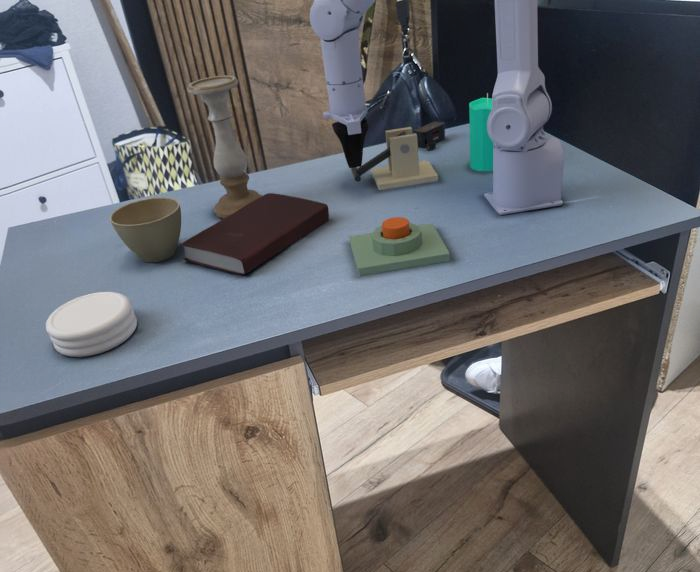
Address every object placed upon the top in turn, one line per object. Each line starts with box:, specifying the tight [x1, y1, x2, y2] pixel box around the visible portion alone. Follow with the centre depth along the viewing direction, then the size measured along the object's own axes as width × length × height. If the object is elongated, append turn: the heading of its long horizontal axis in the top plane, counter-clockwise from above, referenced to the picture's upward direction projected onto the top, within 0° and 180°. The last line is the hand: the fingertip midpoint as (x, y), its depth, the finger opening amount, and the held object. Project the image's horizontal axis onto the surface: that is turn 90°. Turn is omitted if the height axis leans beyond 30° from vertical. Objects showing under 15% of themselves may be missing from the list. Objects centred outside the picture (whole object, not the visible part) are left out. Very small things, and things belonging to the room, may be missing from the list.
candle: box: [468, 92, 493, 172], centre depth 106 cm, size 6×6×12 cm
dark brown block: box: [413, 121, 446, 151], centre depth 121 cm, size 5×7×3 cm, turn 135°
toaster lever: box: [350, 132, 407, 183], centre depth 107 cm, size 11×5×2 cm, turn 97°
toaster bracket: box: [371, 126, 439, 191], centre depth 107 cm, size 10×8×8 cm
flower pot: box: [109, 196, 182, 263], centre depth 94 cm, size 10×10×7 cm
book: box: [180, 192, 330, 276], centre depth 95 cm, size 12×19×3 cm, turn 145°
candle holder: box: [186, 75, 263, 220], centre depth 101 cm, size 9×9×20 cm
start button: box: [381, 216, 410, 239], centre depth 85 cm, size 4×4×2 cm
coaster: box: [45, 291, 138, 358], centre depth 78 cm, size 10×10×4 cm
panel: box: [348, 222, 451, 277], centre depth 86 cm, size 12×10×3 cm
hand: (354, 166), depth 107 cm, fingers closed
